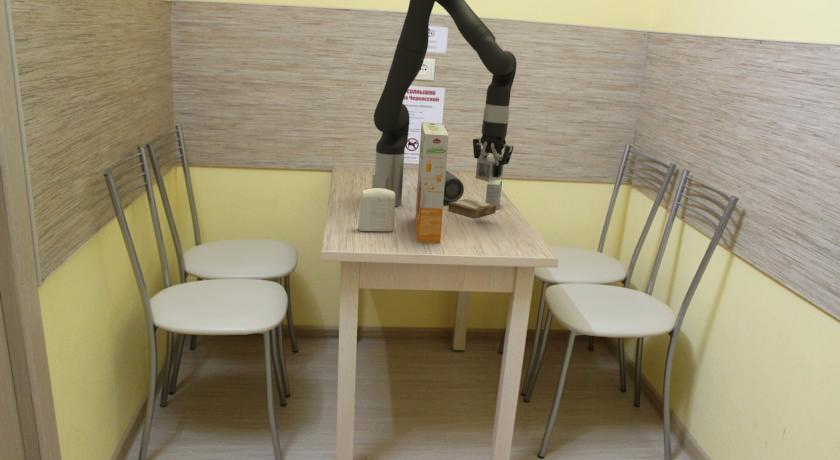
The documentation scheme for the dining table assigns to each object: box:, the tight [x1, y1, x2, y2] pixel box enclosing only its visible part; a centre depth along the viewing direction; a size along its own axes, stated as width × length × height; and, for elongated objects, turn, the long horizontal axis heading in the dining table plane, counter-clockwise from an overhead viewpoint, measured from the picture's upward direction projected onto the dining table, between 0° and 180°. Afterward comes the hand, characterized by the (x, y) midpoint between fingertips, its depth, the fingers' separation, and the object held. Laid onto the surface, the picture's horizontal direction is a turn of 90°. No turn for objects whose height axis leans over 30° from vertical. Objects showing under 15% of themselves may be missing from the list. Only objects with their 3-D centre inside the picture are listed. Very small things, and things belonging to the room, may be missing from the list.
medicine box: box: [485, 179, 503, 211], centre depth 228 cm, size 8×4×9 cm, turn 168°
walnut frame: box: [447, 197, 496, 219], centre depth 221 cm, size 11×11×3 cm
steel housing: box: [475, 156, 505, 182], centre depth 206 cm, size 7×5×6 cm
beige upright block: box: [358, 188, 396, 232], centre depth 193 cm, size 10×4×12 cm, turn 103°
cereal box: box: [414, 121, 449, 244], centre depth 193 cm, size 22×6×30 cm, turn 2°
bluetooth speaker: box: [443, 170, 465, 203], centre depth 236 cm, size 23×9×10 cm, turn 20°
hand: (489, 175), depth 206 cm, fingers closed on steel housing, 5 cm apart
